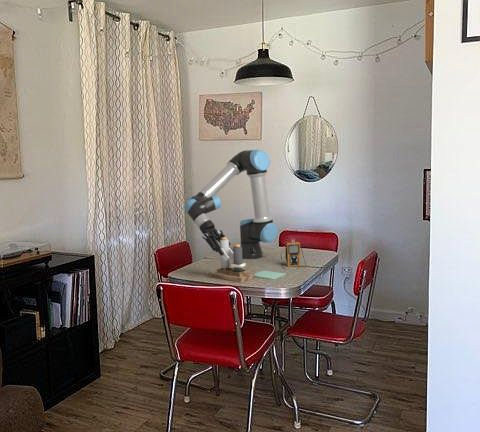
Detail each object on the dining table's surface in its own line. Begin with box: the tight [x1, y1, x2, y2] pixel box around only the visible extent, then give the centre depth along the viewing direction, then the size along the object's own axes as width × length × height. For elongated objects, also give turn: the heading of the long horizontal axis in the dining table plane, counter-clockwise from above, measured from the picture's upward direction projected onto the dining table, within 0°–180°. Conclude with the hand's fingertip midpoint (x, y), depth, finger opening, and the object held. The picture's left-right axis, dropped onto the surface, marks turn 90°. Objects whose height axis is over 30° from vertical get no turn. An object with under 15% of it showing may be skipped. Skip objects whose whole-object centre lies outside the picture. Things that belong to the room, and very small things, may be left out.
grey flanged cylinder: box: [230, 243, 247, 272], centre depth 244 cm, size 5×7×15 cm
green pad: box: [254, 270, 287, 281], centre depth 250 cm, size 12×14×1 cm
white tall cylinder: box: [219, 236, 231, 268], centre depth 249 cm, size 4×4×15 cm
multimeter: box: [280, 229, 307, 270], centre depth 265 cm, size 15×10×20 cm
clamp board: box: [209, 267, 256, 283], centre depth 248 cm, size 11×20×4 cm, turn 51°
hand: (230, 258), depth 247 cm, fingers closed on white tall cylinder, 4 cm apart
